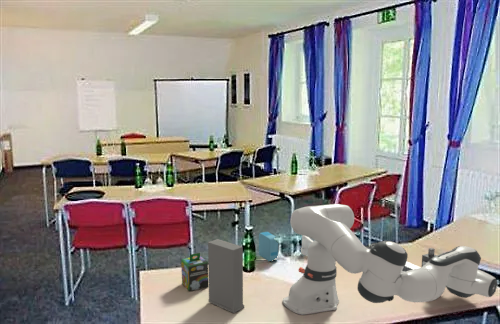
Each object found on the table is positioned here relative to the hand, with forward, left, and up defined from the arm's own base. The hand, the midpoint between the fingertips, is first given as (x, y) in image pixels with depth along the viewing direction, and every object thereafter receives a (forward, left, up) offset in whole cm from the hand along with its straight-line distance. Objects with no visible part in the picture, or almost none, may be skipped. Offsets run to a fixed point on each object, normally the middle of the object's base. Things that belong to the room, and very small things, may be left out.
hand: (429, 261), depth 199 cm
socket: (0, +13, -11) cm, 17 cm away
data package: (-43, +61, -11) cm, 76 cm away
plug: (0, -1, -7) cm, 7 cm away
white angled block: (-23, +56, -11) cm, 62 cm away
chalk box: (-87, +48, -11) cm, 100 cm away
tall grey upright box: (-83, +25, -11) cm, 88 cm away
